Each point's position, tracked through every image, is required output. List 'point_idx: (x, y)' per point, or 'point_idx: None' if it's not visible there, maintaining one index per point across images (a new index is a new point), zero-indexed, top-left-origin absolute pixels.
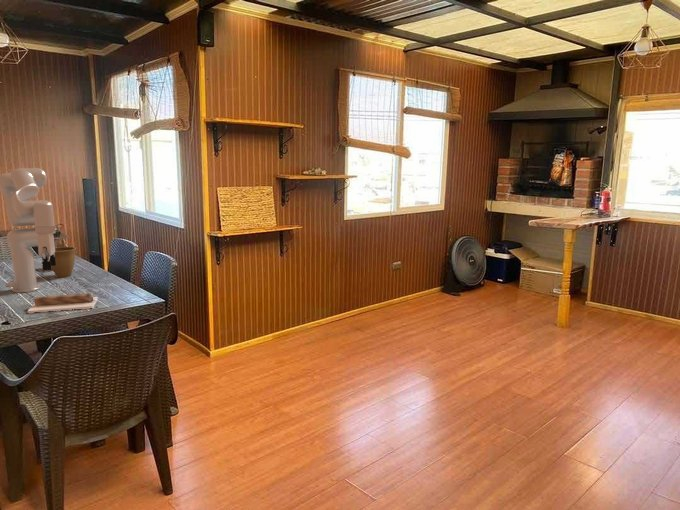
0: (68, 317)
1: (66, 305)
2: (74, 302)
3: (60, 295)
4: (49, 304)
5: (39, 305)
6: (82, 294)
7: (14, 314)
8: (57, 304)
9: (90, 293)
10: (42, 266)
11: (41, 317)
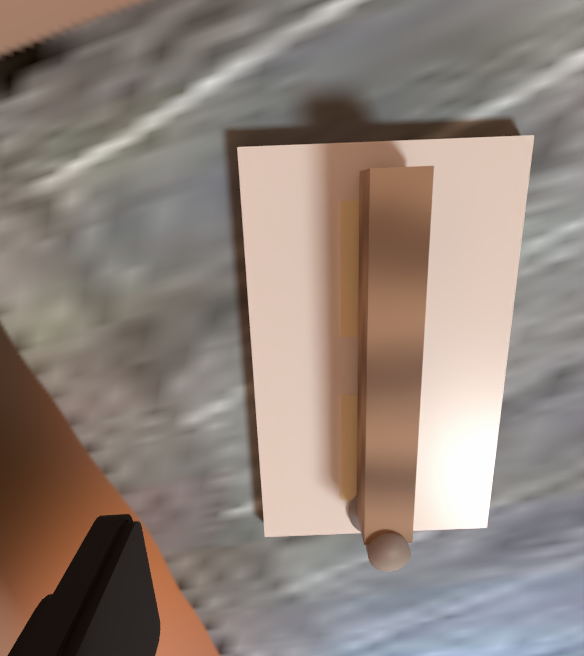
0: (107, 435)
1: (321, 390)
2: None
3: (419, 364)
4: None
5: None
6: (397, 508)
7: (239, 43)
8: None
9: (385, 560)
10: (56, 590)
11: (128, 276)
